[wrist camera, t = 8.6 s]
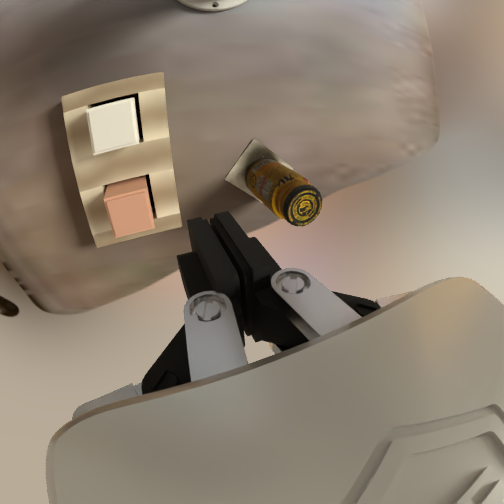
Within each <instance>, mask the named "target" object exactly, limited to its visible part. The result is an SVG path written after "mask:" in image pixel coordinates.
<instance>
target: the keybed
mask: <svg viewBox="0 0 504 504" xmlns="http://www.w3.org/2000/svg"><path fill="white" fill-rule="evenodd" d="M133 94H138V95H139V105H140V114H141V123H142V131H143V138H139V144H136V145H132V146H127V147H123V148H119V149H115V150H111V151H108V152H104V153H100V154H97V155H93V150H92V144H91V139H90V133H89V126H88V120H87V112H86V109H90V108H93V104H96V103H100V102H103V101H107V100H111V99H115V98H119V97H124V96H128V95H133ZM62 106H63V114H64V120H65V127H66V133H67V139H68V144H69V149H70V154H71V159H72V163H73V168H74V172H75V176H76V180H77V184H78V188H79V192H80V196H81V199H82V203H83V206H84V210H85V213H86V216H87V219H88V223H89V226H90V229H91V232H92V235H93V238H94V241H95V244H96V246H97V248H99V247H103V246H107V245H110V244H114V243H118V242H122V241H126V240H129V239H133V238H137V237H141V236H145V235H149V234H153V233H157V232H161V231H166V230H170V229H174V228H178V227H182V222H181V217H180V210H179V204H178V198H177V191H176V185H175V178H174V171H173V163H172V155H171V147H170V139H169V130H168V121H167V110H166V99H165V87H164V73H163V72H159V73H153V74H147V75H141V76H136V77H131V78H126V79H122V80H118V81H113V82H109V83H105V84H101V85H98V86H94V87H91V88H87V89H84V90H81V91H77V92H74V93H71V94H68V95H65V96H63V97H62ZM147 174H149V177H150V183H151V188H152V194H153V199H154V204H155V207H152V213H153V219H154V225H155V228H153V229H149V230H145V231H141V232H137V233H133V234H130V235H126V236H122V237H118V238H114V234H113V231H112V228H111V224H110V221H109V218H108V214H107V210H106V207H105V203H104V196H105V192H106V189H107V184H111V183H114V182H118V181H122V180H126V179H130V178H134V177H138V176H143V175H147Z"/></svg>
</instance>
